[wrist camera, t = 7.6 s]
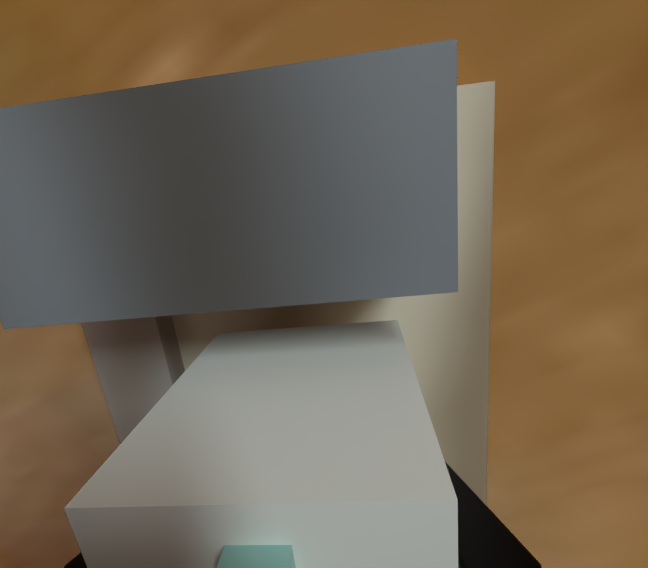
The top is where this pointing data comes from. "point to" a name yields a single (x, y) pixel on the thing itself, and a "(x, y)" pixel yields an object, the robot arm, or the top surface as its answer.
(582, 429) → the top surface
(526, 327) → the top surface
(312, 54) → the top surface
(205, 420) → the module block
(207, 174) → the rail board
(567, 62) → the top surface
